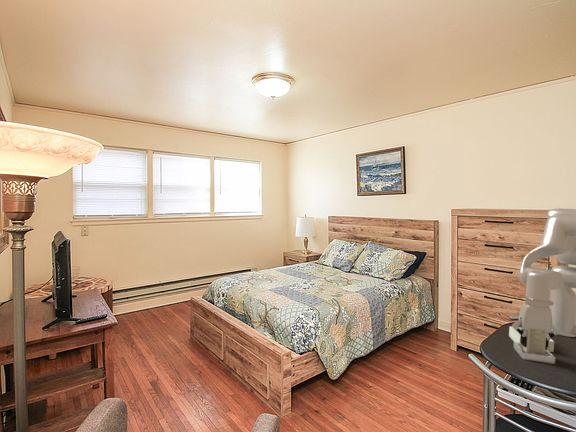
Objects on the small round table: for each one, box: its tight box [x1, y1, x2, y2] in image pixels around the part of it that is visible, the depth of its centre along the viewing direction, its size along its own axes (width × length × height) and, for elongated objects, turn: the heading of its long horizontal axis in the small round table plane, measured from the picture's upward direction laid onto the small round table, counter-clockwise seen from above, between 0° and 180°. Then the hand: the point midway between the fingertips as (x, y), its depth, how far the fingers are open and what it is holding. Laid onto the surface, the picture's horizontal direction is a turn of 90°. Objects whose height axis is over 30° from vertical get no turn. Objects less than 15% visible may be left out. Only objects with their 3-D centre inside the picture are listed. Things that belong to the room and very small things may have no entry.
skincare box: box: [523, 328, 546, 355], centre depth 127 cm, size 6×4×12 cm
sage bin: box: [508, 325, 555, 353], centre depth 138 cm, size 12×12×4 cm
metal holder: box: [513, 341, 556, 365], centre depth 127 cm, size 10×10×2 cm
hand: (533, 346), depth 127 cm, fingers closed on skincare box, 6 cm apart
